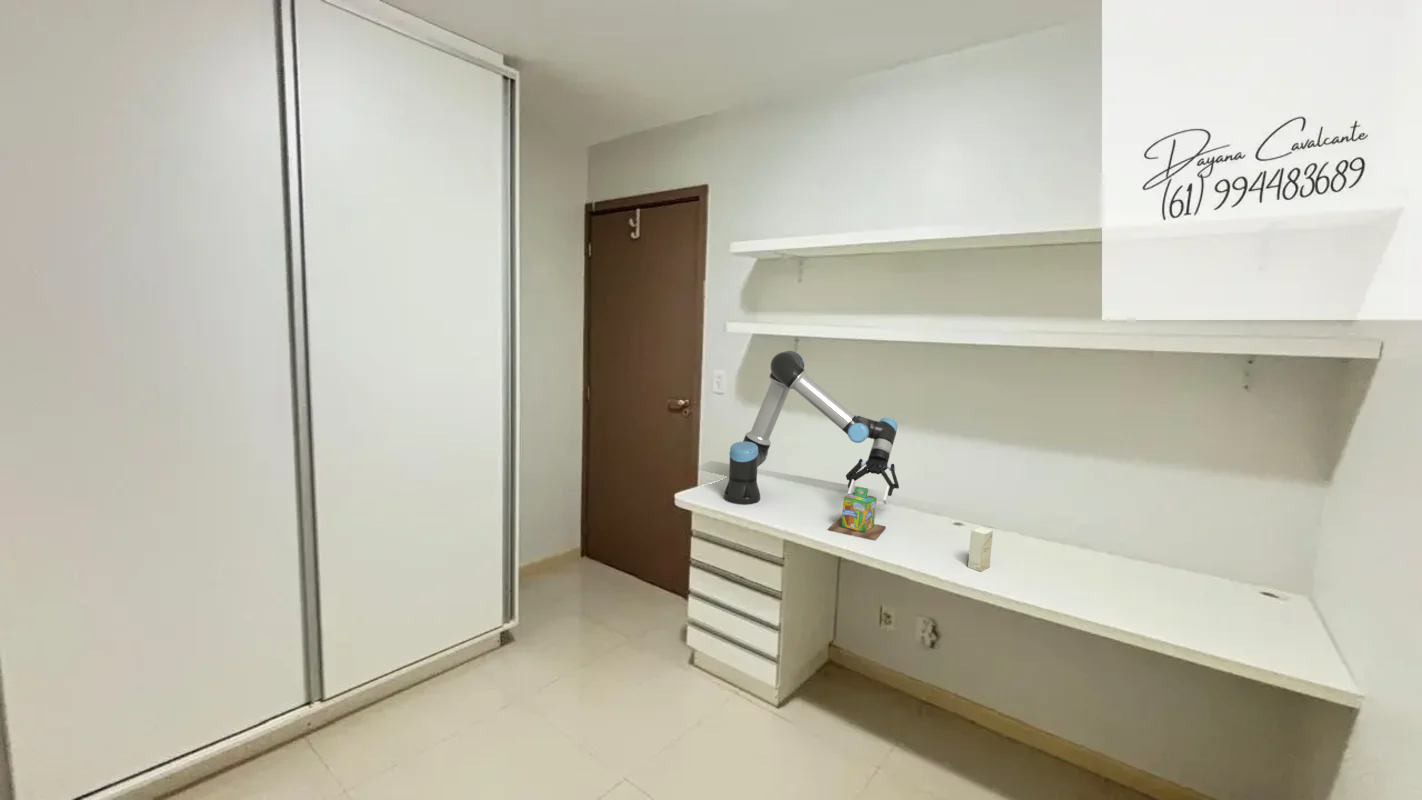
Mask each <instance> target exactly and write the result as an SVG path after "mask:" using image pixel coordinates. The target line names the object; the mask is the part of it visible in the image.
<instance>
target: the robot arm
mask: <svg viewBox="0 0 1422 800" xmlns="http://www.w3.org/2000/svg"><path fill="white" fill-rule="evenodd" d="M770 371H771V372H770V374H769V379H770V384H769V386H768V388H767V391H766V392H765V393H766V394H765V396H764V398H763V401H762V403H761V406H760V408H759V411H758V413H757V416H756V418H755V421H754V423H753V425H752V428H751V430H750V431H748V432H746V433H745V436H744V438H743V441H739V442H734V443H732V444H731V446H730V448H729V449H730V450H729V471H728V475H729V477H728V482H727V485H726V487H725V490H724V496H723V498H724V500H725V501H726V502H729V503H732V504H737V505H738V504H739V505H751V504H756V503H759V502H760V501H761V493H760V489H759V485H758V482H757V480H758V467H759V466H761V465H762V464H764V462H765V461H766V460H767V457H768V455H769V454H768V453H769V449H770V447H771V445H772V443H771V440H770V437H771V435H772V433H773V431H774V428H775V426H776V423H777V420H778V419H779V417H780V414H781V411H782V409H783V406H784V404H785V401H786V400H787V397H788V394H789V392H790V390H795V392H797V394H799V395H800V396H801V397H803V398H804V399H805V400H806V401H807V402H808V403H810V404H811V405H812V406H813V407H814V408H815V409H817V410H818V411H820V413H822V414H823V416H825V417H826V418H828V419H829V420H830V421H831V422H832V423H833V424H835V426H837V427H838V428H840V429H841V430H842V431H843V432H844V433H845V434H846V435H847V436H848V439H850V441H851V442H853V443H855V444H856V443H857V444H861V443H863V442H865V441H866V440H867V439H871V440H873V442H872V446H871V449H870V452H869V455H868V458H867V460H863V459H862V458H860V459H859V460H858V462H857V463H856V464H855V465H854V467H852V468H851V470H849V472H847V474H845V478H846V480H847V481H848V483H847V487H848V491H847V495H849V494H851V493H854V490H855V487H856V486H855V485H856V481H857V480H859V479H861V478H862V477H864V476H865V475H868V474H869V473H870V474H875V475H880V474H881V476H882V477H883V479H884V480H885V481H886V483H887V486H886V489H885V492H884V496H883V504H884V505H887V503H888V501H889V500H888V499H889V497H892V495H893V491H894V490H895V489H896V490H897V489H899V488H900V486H899V482H898V479H897V474H896V472H895V471H896V466H895V464H894V463H891V464H889V460H890V455H891V453H892V448H893V445H894V442H895V439H896V436H897V433H898V432H897V431H898V423H897V421H895V419H892V418H890V417H887V418H886V417H883V418H881V419H880V420H879V421H877V420H874V419H872V418H871V419H870V418H868V417H867V418H866V417H864V416H861V415H857V414H853V412H852V411H850V410H849V409H848V408H846V407H845V406H844V405H843V404H842V403H841V402H840V401H838V400H837V399H836V398H835V397H833V396H832V395H831V394H830V393H829V392H828V391H826V390H825V389H824V388H823V387H822V386H821V385H819V384H818V383H817V382H815V380H813V379H812V378H811V377H809V376H808V374H807V373H806V370H805V360H804V358H803V356H801V354H800V353H798V352H797V351H793V350H786V351H781V352H779V353H777V354H776V355H774V357H773V358H772V359H771V362H770ZM887 469H888V470H889V471H890V472H891V475H892V478H893V479H892V480H893V482H892V480H891V478H890V477H889V474H887V472H886V470H887Z"/></svg>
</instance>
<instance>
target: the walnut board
mask: <svg viewBox="0 0 1422 800" xmlns="http://www.w3.org/2000/svg"><path fill="white" fill-rule="evenodd" d="M841 524H842V516H840V518H839V519H837V520H836V521H834V523H832V525H830V526H829V527H828V531H831V532H834V533H838V534H843V535H848V536H852V537H857V538H861V539H867V540H871V541H876V540H877V539H879V537H880V536H881V535H882V534H883V533H884V531H885V530H886V528H887V527H886V525H882V524H881V525H880V524H876V523H874V527H873V528H871V529H869V530H868V531H866V532H865V533H862V532H859V531H855V530H852V529H848V528H844V527H841Z"/></svg>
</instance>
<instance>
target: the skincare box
mask: <svg viewBox="0 0 1422 800" xmlns="http://www.w3.org/2000/svg"><path fill="white" fill-rule="evenodd" d="M970 531H971V532H970V542H969V553H968V562H967V563H968V565H967V568H970V569H972V570H976V571H979V572H983V571H984V570H987V569H989V568H990V566H991V565H990V564H991V557H992V556H991V555H992V546H993V544H992V543H993V536H994V535H993V534H994V533H993V532H994V529H993V530H992V529H991V528H990V529H989V528H985V527H982V526H978V527H976V528H974V529H971V530H970Z"/></svg>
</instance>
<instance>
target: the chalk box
mask: <svg viewBox="0 0 1422 800" xmlns="http://www.w3.org/2000/svg"><path fill="white" fill-rule="evenodd" d="M868 490H869V489H868V488H866V487H861V486H855V488H854V491H853V492H852V493H851V494H849V495H848V494H847V495H845V496H844V497H843V503H842V515H841V517H842V524H841V527H844V528H848V529H852V530H855V531H859V532H862V533H865V532H866V531H868V530H869V529H871V528H873V527H874V524H875V518H876V507H877V496H872V495H869V494H868V492H869V491H868ZM859 491H862V492H863V493H861V492H859Z"/></svg>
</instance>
